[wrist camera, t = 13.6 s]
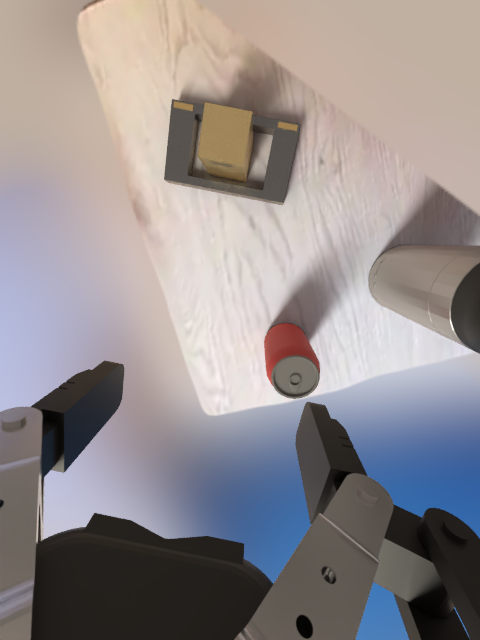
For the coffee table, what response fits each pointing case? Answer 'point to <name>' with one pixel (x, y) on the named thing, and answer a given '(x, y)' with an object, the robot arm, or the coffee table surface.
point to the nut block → (226, 141)
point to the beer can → (291, 361)
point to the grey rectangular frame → (181, 174)
